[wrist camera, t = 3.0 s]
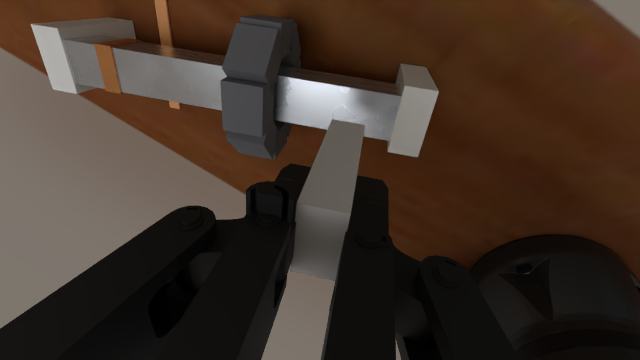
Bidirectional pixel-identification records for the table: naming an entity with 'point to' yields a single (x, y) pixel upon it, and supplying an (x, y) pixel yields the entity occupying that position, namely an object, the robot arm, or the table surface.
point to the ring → (257, 83)
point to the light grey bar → (206, 72)
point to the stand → (49, 37)
